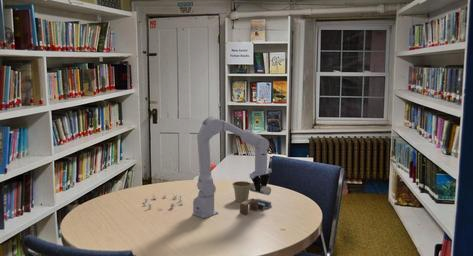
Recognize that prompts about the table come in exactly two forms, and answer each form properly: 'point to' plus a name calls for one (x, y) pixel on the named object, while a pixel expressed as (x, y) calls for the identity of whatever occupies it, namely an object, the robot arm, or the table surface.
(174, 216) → the table surface
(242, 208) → the brown wooden u-shaped block
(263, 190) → the grey metal cylinder
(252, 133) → the robot arm
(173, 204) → the game piece set
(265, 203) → the v block
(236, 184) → the flower pot
